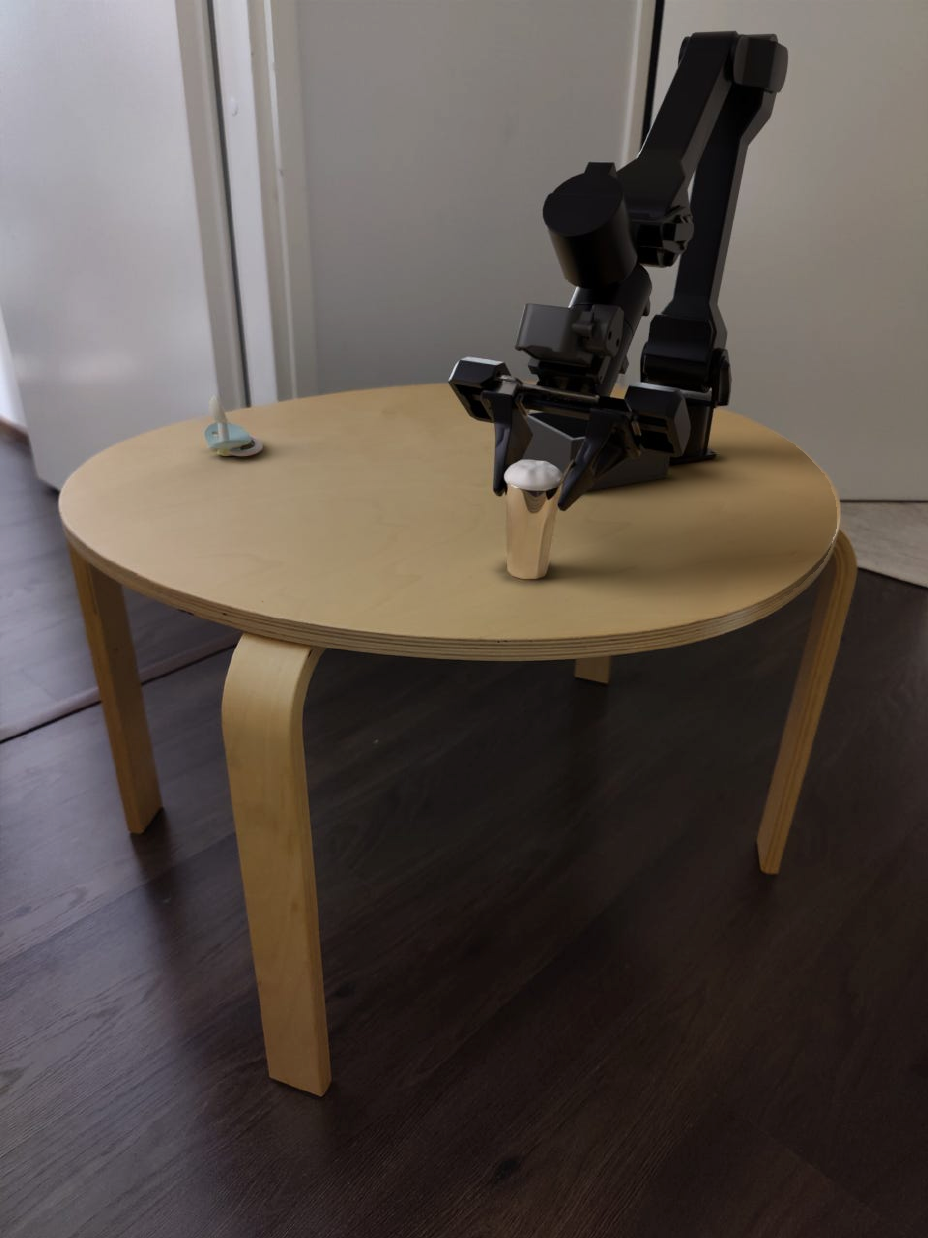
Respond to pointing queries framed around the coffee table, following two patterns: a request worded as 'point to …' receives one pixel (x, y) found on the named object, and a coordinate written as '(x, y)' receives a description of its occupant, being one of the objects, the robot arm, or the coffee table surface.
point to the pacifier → (228, 434)
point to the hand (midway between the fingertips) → (527, 501)
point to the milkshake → (531, 515)
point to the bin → (563, 440)
